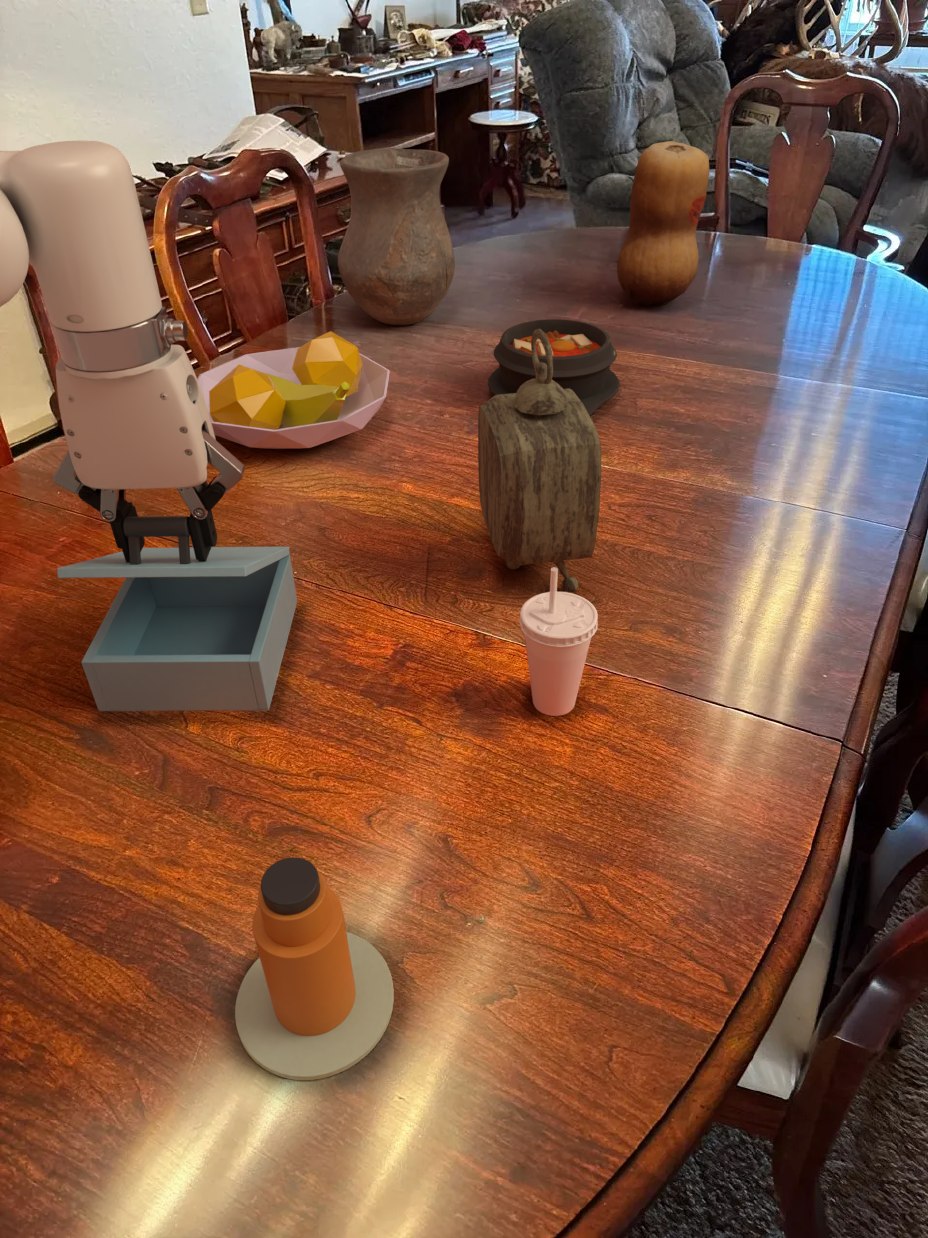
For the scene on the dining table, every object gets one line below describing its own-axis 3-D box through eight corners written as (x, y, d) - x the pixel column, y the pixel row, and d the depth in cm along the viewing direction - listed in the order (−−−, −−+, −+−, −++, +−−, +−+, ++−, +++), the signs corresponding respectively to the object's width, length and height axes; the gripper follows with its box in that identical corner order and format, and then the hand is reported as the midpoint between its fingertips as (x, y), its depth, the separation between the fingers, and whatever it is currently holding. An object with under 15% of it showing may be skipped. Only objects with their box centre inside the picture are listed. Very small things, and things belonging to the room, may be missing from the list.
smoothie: (516, 676, 83) (519, 546, 75) (588, 677, 83) (599, 546, 74) (517, 726, 78) (521, 593, 70) (593, 727, 78) (606, 593, 69)
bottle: (266, 1036, 56) (232, 920, 49) (281, 959, 61) (252, 842, 53) (351, 1036, 56) (330, 921, 49) (359, 960, 60) (341, 842, 53)
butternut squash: (674, 321, 153) (694, 156, 138) (601, 307, 159) (613, 148, 144) (705, 297, 162) (727, 140, 147) (635, 285, 168) (649, 132, 153)
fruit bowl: (186, 402, 131) (169, 324, 124) (371, 375, 138) (364, 299, 131) (205, 495, 110) (186, 407, 103) (422, 458, 117) (418, 373, 110)
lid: (245, 576, 72) (242, 517, 71) (57, 578, 72) (52, 519, 71) (289, 554, 88) (287, 506, 87) (136, 556, 88) (132, 507, 87)
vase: (343, 302, 164) (328, 147, 148) (450, 296, 165) (446, 142, 150) (344, 343, 148) (327, 174, 133) (462, 336, 150) (458, 168, 134)
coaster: (220, 1080, 55) (218, 1076, 55) (253, 932, 63) (251, 928, 62) (387, 1081, 55) (387, 1077, 54) (399, 932, 63) (398, 928, 62)
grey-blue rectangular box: (270, 717, 80) (259, 661, 76) (100, 718, 80) (80, 662, 76) (298, 607, 92) (290, 554, 88) (152, 608, 92) (136, 555, 88)
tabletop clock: (591, 601, 92) (611, 360, 77) (503, 611, 91) (505, 369, 76) (556, 525, 103) (567, 302, 88) (477, 534, 102) (474, 310, 87)
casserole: (616, 437, 120) (622, 376, 115) (475, 430, 123) (475, 370, 117) (620, 363, 140) (625, 308, 135) (499, 358, 142) (499, 303, 137)
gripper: (244, 317, 68) (280, 526, 79) (14, 322, 68) (83, 531, 79) (223, 356, 62) (265, 577, 73) (-28, 362, 62) (52, 581, 73)
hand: (170, 551), depth 76 cm, fingers closed on lid, 5 cm apart
